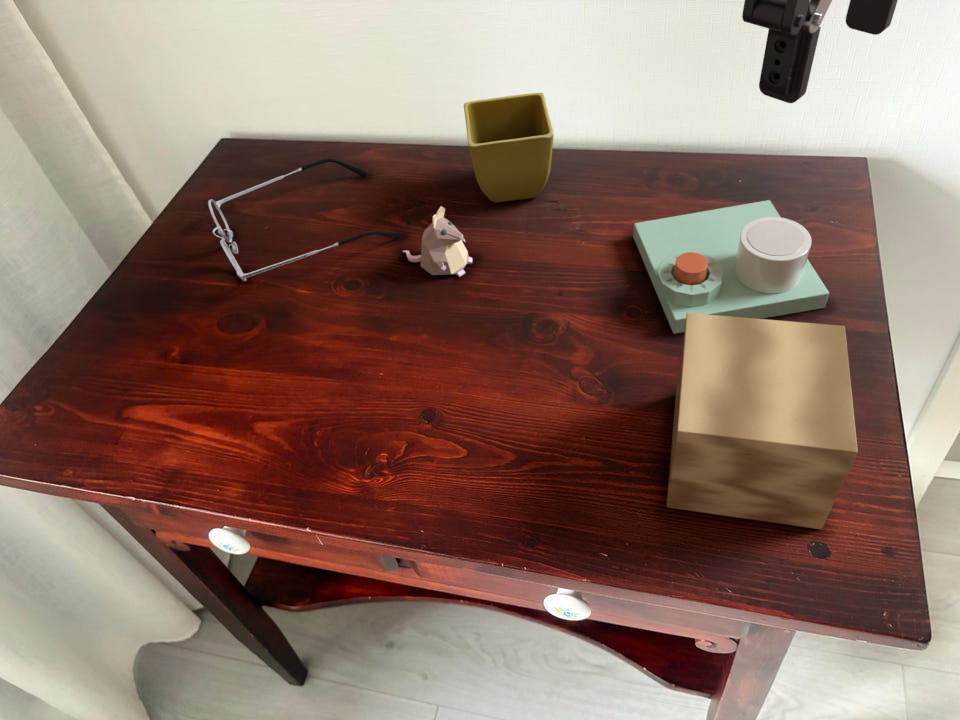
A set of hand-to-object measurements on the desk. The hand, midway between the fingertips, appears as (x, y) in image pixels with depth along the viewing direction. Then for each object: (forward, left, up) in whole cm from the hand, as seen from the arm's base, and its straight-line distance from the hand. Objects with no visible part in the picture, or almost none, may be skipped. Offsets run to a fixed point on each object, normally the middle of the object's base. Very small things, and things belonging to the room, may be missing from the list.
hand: (825, 61), depth 40 cm
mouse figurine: (+34, +4, -30) cm, 46 cm away
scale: (+10, -13, -30) cm, 34 cm away
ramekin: (+6, -13, -28) cm, 32 cm away
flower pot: (+36, -10, -30) cm, 48 cm away
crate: (-3, +4, -30) cm, 31 cm away
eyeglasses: (+49, +10, -30) cm, 58 cm away
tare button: (+11, -7, -27) cm, 30 cm away
